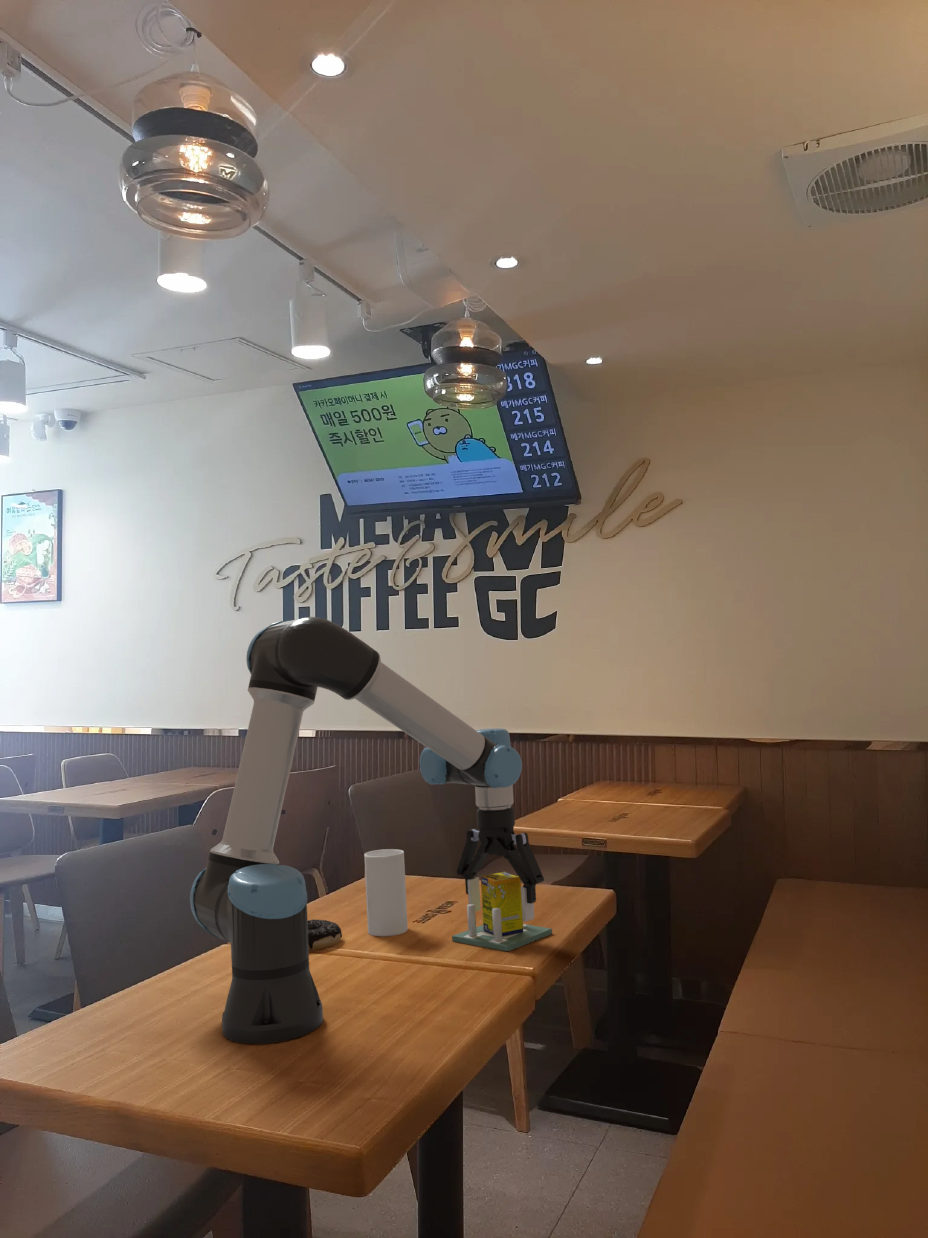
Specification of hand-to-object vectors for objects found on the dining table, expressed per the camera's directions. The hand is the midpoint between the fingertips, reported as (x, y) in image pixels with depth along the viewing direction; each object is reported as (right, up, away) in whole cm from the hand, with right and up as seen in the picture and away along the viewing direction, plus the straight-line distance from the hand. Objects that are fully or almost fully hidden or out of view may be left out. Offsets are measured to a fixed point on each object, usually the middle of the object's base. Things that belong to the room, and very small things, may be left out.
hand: (501, 915), depth 189 cm
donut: (-37, -7, +3) cm, 38 cm away
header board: (0, -4, 0) cm, 4 cm away
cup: (-23, -6, +9) cm, 26 cm away
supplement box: (0, -3, -1) cm, 3 cm away
